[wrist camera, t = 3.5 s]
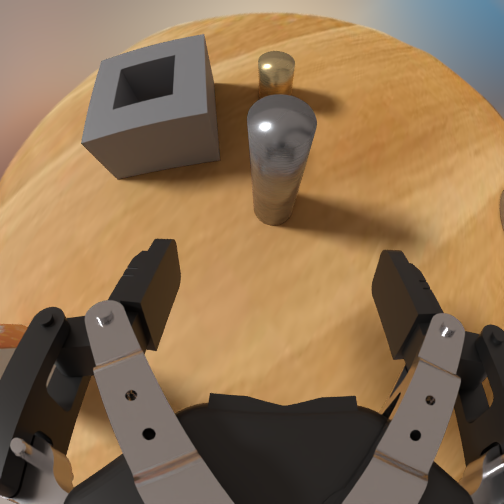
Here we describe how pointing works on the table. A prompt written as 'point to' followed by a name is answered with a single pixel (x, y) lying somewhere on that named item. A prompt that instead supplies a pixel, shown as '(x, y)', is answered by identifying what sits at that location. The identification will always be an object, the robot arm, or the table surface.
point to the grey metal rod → (278, 153)
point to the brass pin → (275, 73)
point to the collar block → (154, 109)
